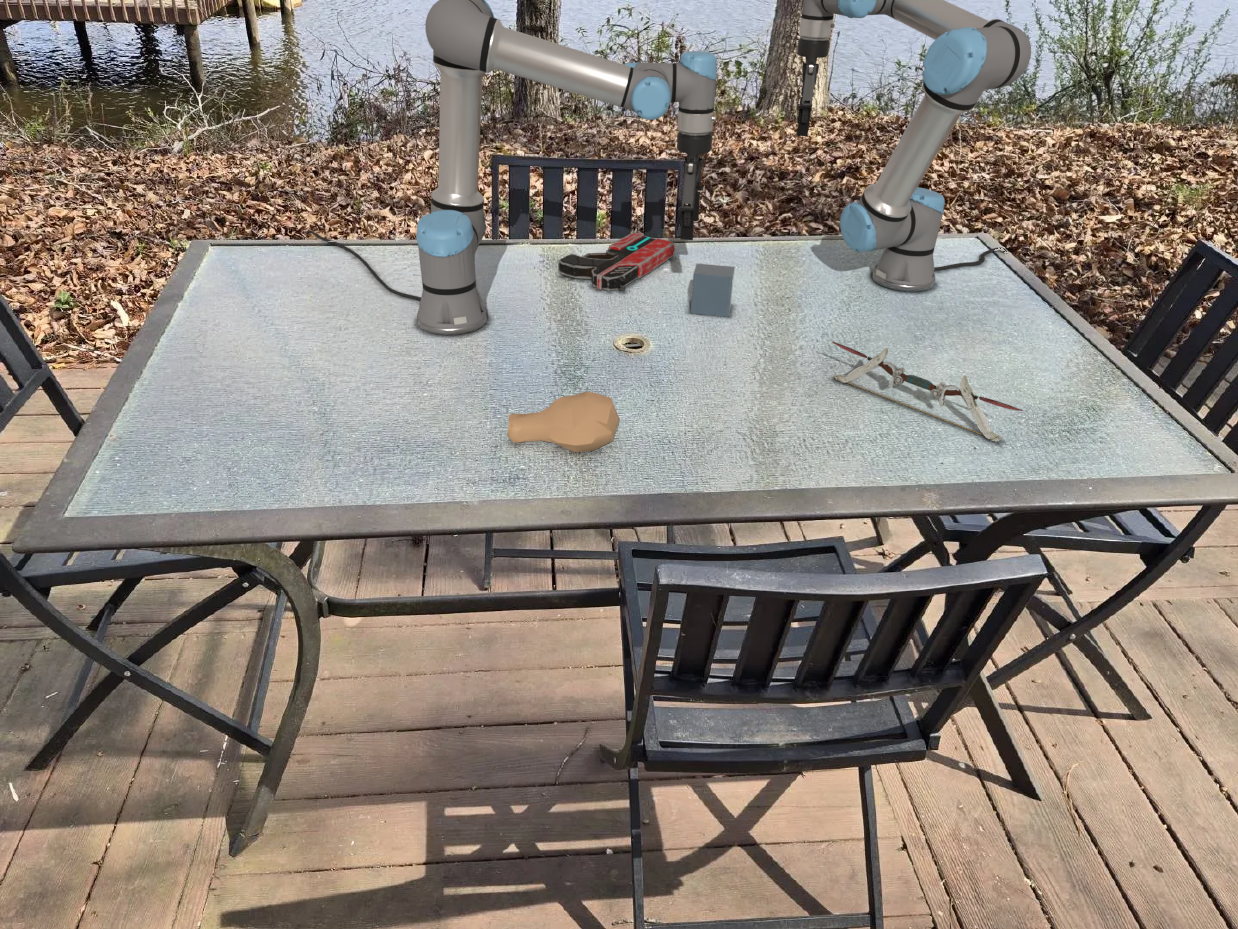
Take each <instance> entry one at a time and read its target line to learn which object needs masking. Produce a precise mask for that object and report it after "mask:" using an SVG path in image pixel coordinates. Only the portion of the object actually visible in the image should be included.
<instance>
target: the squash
mask: <svg viewBox="0 0 1238 929" xmlns="http://www.w3.org/2000/svg"><path fill="white" fill-rule="evenodd" d="M507 418H508V426H507V433H506V436H507V438H508V439H509V440H510V441H511V442H512V443H513V444H516V443H524V442H539V441H542V442H547V443H553V444H555V445H557V446H559V447H561V448H563V449H566V450H568V451H570V452H573V453H582V452H593V451H596V450H598V449H599V448H602V447H604V446H606V445H609V443H612V442H613V441H614V439H615V436H616V432H617V429H618V427H619V423H620V420H621V419H620V417H619V414H618V412H617V409H616V407H615V404H614V402H613V399H612V397H610V396H607V395H603V394H600V393H597V392H593V391H587V390H585V391H583V392H580V393H577V394H572V395H566V396H565V395H564V396H560V397H558V398H556V400H553V401H552V402H551V404H550V405H549V406H548V407H546V408H545V409H543V410H541V411H537V412H530V413H529V412H528V413H510V414H508V417H507Z"/></svg>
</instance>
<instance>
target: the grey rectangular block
mask: <svg viewBox="0 0 1238 929" xmlns="http://www.w3.org/2000/svg"><path fill="white" fill-rule="evenodd" d="M735 267H736V266H729V265H718V264H707V263H695V267H694V270H693V274H692V287H691V288H692V289H691V301H690V312H689V313H690V314H695V315H704V316H715V317H725V318H729V316H730V312H731V306H732V298H733V289H734V278H735V270H736V269H735Z"/></svg>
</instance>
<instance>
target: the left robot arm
mask: <svg viewBox="0 0 1238 929" xmlns="http://www.w3.org/2000/svg"><path fill="white" fill-rule="evenodd" d="M424 25H425V28H424V29H425V35H426V39H427V41H428V45H429V46H430V48H431V49H432V50H433V51H432V63H433V64H434V66H435V67H436V68H437V70H438V71H439V73H440V76H439V77H440V79H439V81H440V82H439V131H438V132H439V134H438V135H439V136H438V139H439V140H438V181H437V182H438V183H437V184H438V185H437V186H438V187H436V188H435V189H434V190H433V191H432V192H431V193H430V213H426V214H424V215H423V216H422V217H421V218H420V219H419V220H418V222H417V225H416V237H415V238H416V243H417V247H418V258H419V267H420V275H421V276H420V278H421V284H422V292H421V297H420V296H417V295H413V294H408V293H404V292H401V291H398V290H395V289H393V288H391V287H390V286H389V285H387V283H385V282H384V281H383V280H382V279H381V278H380V276H378V275H377V274H376V272H375V271H374V269H372V267H371V266H370V265H369V264H368V262H366V260H365V259H364V258H363V257H362V256H361V255H360V254H358V253H357V252H355V251H354V250H353V249H351V248H349V247H347V246H346V245H344V244H341V243H339V242H337V241H334V242H328V243H329V244H332V245H335V246H336V247H339V248H341V249H343V250H345V251H347V252H349V253H350V254H352V255H353V256H355V257H356V258H357V259H358V260H359V261H360V262H361V263H362V264H363V265H364V266H365V267H366V269H367V270H368V271H369V272H370V273H371V275H372V276H373V277H374V278H375V279H376V280H377V281H378V283H380V284H381V285H382V287H383V288H385V289H386V290H387V291H389V292H390V293H393V294H395V295H398V296H400V297H405V298H408V299H413V300H416V301H420V302H419V305H418V310H417V315H416V318H417V325H418V326H419V328H420V329H421V330H423V331H424V332H427V333H430V334H433V335H440V336H459V335H465V334H469V333H473V332H476V331H477V330H480V329H481V328H483V327H484V326H485V325H486V323H487V320H488V316H487V310H486V306H485V304H484V302H483V299H482V298H481V295H480V293H479V291H478V288H477V278H476V277H477V276H476V262H475V257H476V253H477V251H478V249H479V246H480V243H481V242H482V240H483V238H484V235H485V232H486V225H487V224H486V217H485V214H484V213H485V212H484V210H485V207H484V206H485V199H484V195H482V193H481V192H480V191H479V168H480V166H479V164H480V143H481V142H480V141H481V121H482V120H481V119H482V117H481V116H482V99H483V98H482V97H483V96H482V94H483V77H484V75H485V74H489V73H491V72H493V71H494V70H495V71H496V70H497V71H500V72H503V73H506V74H510V75H513V76H517V77H520V78H523V79H526V80H530V81H533V82H536V83H539V84H543V85H546V86H550V87H553V88H557V89H560V90H563V91H567V92H570V93H573V94H577V95H579V96H582V97H587V98H590V99H593V100H597V101H599V102H603V103H606V104H609V105H613V106H616V107H618V108H619V107H620V108H622V109H625V110H628V111H631V112H634V113H635V114H636V115H637V116H638V117H640V118H641V119H643V120H647V121H654V120H657V119H659V118H661V117H663V116H664V115H665V114H666V113H667V111H668V109H669V107H670V104H671V103H678V109H677V124H676V125H677V130H678V132H677V134H676V150H677V151H678V152H679V153H682V154H686V155H687V156H686V157H684V160H683V176H682V177H683V186H682V197H681V206H678V211H679V212H681V219H680V220H681V221H680V236H679V237H680V239H679V240H683V241H693V240H694V228H695V227H694V226H695V221H699V220H700V206H701V205H700V204H701V192H704V185H702V173H703V166H704V158H703V157H702V155H705V154H708V153H710V152H711V151H712V148H713V134H712V131H713V128H714V122H716V121H717V116H716V115H714V114H715V102H716V91H717V90H716V89H717V79H718V78H717V60H718V59H717V56H716V55H715V54H714V53H713V52H710V51H702V50H693V51H691V50H689V51H684V52H682V53H681V54H680V59H679V61H677V62H642V61H637V62H627V63H625V64H623V63H620V62H618V61H617V62H616V61H613V60H611V59H607V58H604V57H602V56H597V55H594V54H591V53H587V52H584V51H583V50H578V49H575V48H572V47H569V46H566V45H562V44H559V43H557V42H553V41H549V40H546V39H544V38H540V37H537V36H535V35H530V34H527V33H525V32H521V31H519V30H515V29H511V28H508V27H505V26H504V25H503V23H502V22H501V20H500V19H499V18H496V17H495V15H494V12H493V10H492V8H491V6H490V4H489V2H488V1H487V0H437V1H436V2H435V3H434V4H432V6H431V7H430V8H429V11H428V13H427V15H426V18H425V24H424ZM309 234H312V235H313V236H315V237H316V238H317V239H319V240H321V241H324V242H326V241H333V239H332V240H331V239H329V238H326V237H323V236H322V235H319V234H318V233H317V232H316V231H314V230H312V229H308V230H307V231H306V232H305V235H309Z"/></svg>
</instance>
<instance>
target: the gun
mask: <svg viewBox="0 0 1238 929" xmlns="http://www.w3.org/2000/svg"><path fill="white" fill-rule="evenodd" d="M675 252H676V248H675V242H673V241H670V240H667V239H663V238H655V237H650V236H647V235H644V233H641V232H631V233H629V234H627V235H625V236H624V237H622V238H620V239H619V240H616V241H615V242H612V243H611V244H609V245H608V247H607V250H605V252H587V253H585V254H583V255H582V256H581V255H577V254H575V253H573V252H572V253H569V254H568V255H565V256H564V257H561V258H559V259H558V260H557V262H558V263H557V266H558V268H557V270H558V274H561V275H563V276H566V277H569V278H573V279H583V280H584V279H585V280H586V279H589V280H590V279H591V280H590V281H591V282H590V283H591V285H592V287H594V288H596V290H598V291H599V290H600V291H601V290H604V291H608V292H609V291H616V290H617V291H621V292H625V291H626V286H628V285H629V284H631V283H633V282H634V281H635V280H637V279H641V278H643V277H645V276H646V275H648V274H649V273H651V272H652V271H654V270H655V269H657V268H659V266H661V265H662V264H664V263H665V262H667V260H669V259H671V258H673V256H674V254H675Z"/></svg>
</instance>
